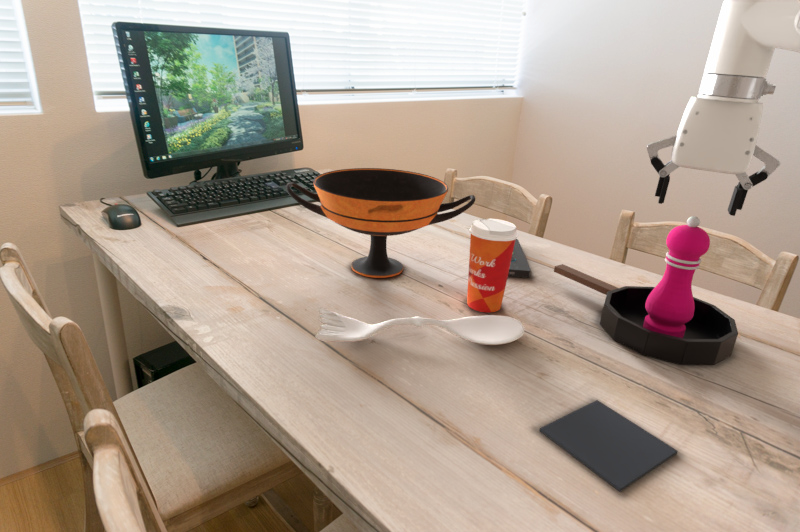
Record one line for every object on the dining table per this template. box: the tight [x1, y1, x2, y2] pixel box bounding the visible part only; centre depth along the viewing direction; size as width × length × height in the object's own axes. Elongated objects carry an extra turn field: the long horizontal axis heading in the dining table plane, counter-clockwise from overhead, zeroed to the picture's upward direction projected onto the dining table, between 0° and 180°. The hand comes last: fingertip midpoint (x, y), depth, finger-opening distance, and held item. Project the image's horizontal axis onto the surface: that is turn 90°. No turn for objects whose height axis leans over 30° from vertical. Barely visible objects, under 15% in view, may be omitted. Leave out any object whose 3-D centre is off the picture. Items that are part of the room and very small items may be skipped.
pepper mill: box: [643, 215, 711, 338], centre depth 84 cm, size 7×7×20 cm
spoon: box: [314, 307, 525, 346], centre depth 81 cm, size 9×32×4 cm, turn 96°
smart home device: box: [508, 238, 531, 279], centre depth 116 cm, size 8×2×20 cm
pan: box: [553, 263, 739, 366], centre depth 92 cm, size 33×20×4 cm, turn 34°
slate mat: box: [539, 399, 679, 492], centre depth 62 cm, size 11×11×1 cm
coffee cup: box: [466, 217, 519, 314], centre depth 91 cm, size 8×8×15 cm
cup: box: [286, 167, 476, 279], centre depth 104 cm, size 36×26×18 cm
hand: (695, 207), depth 80 cm, fingers open, 9 cm apart
